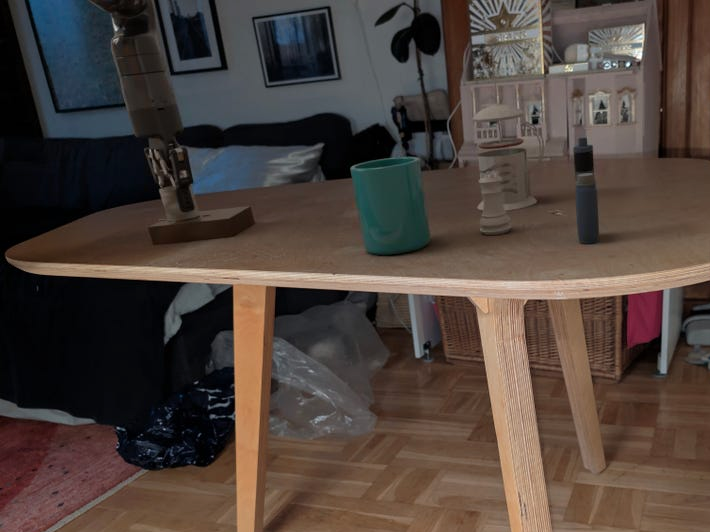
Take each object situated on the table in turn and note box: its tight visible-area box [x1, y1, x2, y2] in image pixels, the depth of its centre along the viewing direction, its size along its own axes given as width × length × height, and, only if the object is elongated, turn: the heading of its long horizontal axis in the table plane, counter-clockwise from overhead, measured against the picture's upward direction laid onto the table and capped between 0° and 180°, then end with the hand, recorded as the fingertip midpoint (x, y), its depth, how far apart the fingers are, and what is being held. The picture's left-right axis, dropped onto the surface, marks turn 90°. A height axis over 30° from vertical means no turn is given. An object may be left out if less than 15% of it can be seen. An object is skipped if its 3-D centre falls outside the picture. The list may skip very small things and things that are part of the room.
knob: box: [158, 184, 200, 221], centre depth 118 cm, size 5×5×6 cm
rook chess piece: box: [478, 171, 512, 236], centre depth 96 cm, size 4×4×8 cm
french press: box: [471, 35, 545, 211], centre depth 108 cm, size 10×12×25 cm
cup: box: [349, 156, 431, 256], centre depth 94 cm, size 9×12×11 cm
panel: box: [147, 205, 255, 246], centre depth 120 cm, size 15×10×3 cm
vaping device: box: [572, 137, 600, 245], centre depth 85 cm, size 3×5×12 cm, turn 175°
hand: (181, 209), depth 119 cm, fingers closed on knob, 5 cm apart
